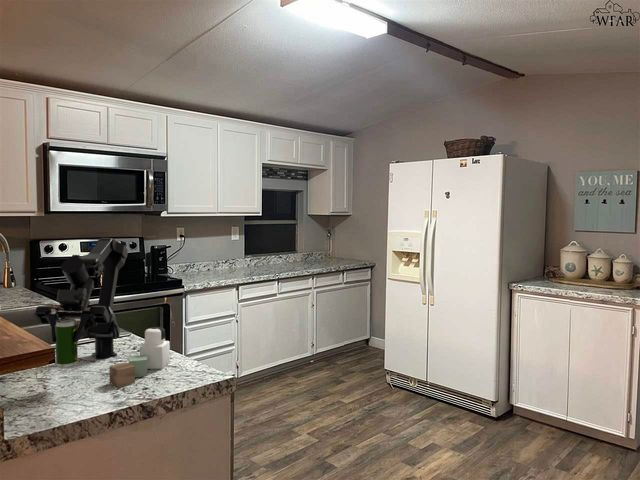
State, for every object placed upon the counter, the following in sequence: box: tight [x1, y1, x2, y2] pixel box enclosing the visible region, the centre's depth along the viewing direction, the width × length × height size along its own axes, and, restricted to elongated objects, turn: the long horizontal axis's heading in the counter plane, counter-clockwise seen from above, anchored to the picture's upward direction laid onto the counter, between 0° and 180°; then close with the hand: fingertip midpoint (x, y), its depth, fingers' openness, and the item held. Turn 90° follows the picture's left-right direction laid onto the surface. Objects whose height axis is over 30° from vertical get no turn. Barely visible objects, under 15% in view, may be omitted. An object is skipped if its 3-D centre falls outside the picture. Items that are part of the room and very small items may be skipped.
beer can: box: [55, 318, 79, 368], centre depth 137 cm, size 5×5×12 cm
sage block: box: [128, 354, 148, 378], centre depth 150 cm, size 5×5×5 cm
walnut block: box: [109, 361, 136, 388], centre depth 142 cm, size 5×5×5 cm
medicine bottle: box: [139, 326, 171, 370], centre depth 158 cm, size 7×7×12 cm
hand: (64, 341), depth 136 cm, fingers closed on beer can, 5 cm apart
